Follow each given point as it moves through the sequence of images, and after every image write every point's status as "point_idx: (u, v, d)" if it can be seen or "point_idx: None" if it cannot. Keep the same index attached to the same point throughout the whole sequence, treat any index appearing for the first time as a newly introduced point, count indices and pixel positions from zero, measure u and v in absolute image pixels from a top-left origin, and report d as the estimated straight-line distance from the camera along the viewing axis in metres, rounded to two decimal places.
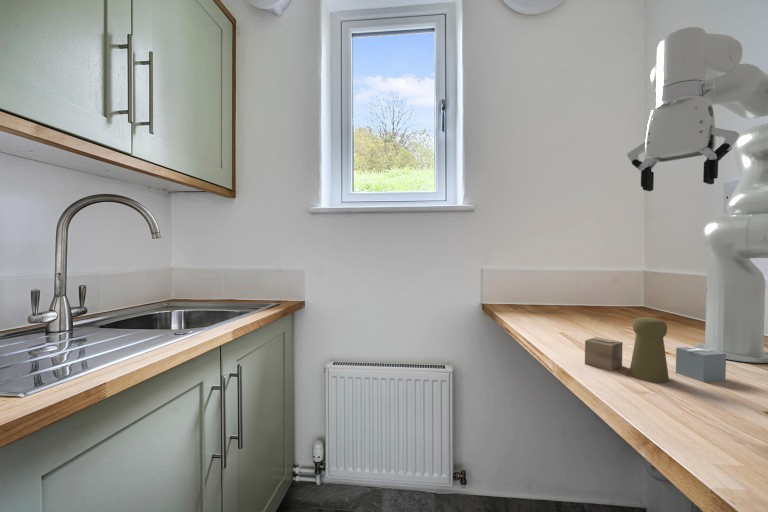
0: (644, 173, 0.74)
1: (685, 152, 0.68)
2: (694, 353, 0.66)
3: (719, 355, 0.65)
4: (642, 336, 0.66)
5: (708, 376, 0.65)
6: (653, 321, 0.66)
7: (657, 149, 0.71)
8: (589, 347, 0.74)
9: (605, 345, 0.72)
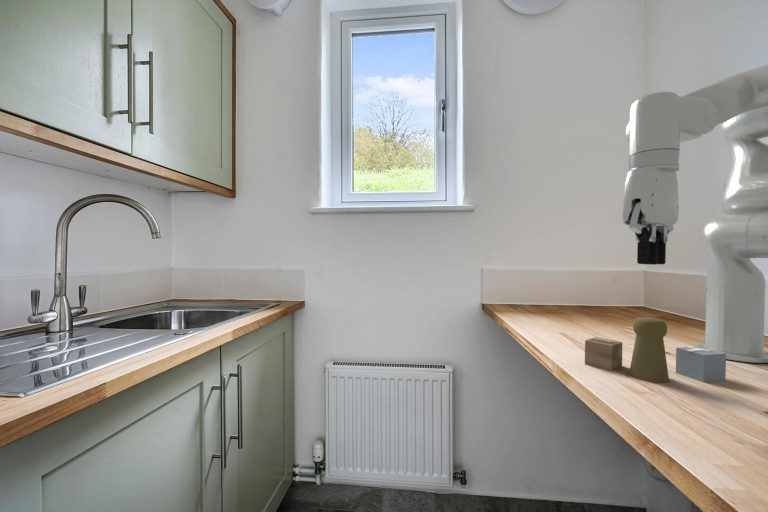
0: (657, 246, 0.65)
1: (668, 224, 0.66)
2: (694, 353, 0.66)
3: (719, 355, 0.65)
4: (642, 336, 0.66)
5: (708, 376, 0.65)
6: (653, 321, 0.66)
7: (657, 214, 0.64)
8: (589, 347, 0.74)
9: (605, 345, 0.72)
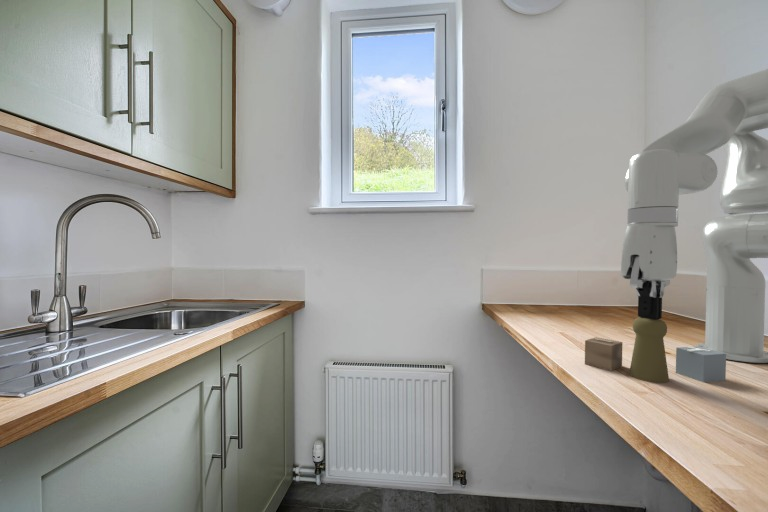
0: (657, 301, 0.65)
1: (666, 279, 0.66)
2: (694, 353, 0.66)
3: (719, 355, 0.65)
4: (642, 336, 0.66)
5: (708, 376, 0.65)
6: (653, 321, 0.66)
7: (655, 271, 0.64)
8: (589, 347, 0.74)
9: (605, 345, 0.72)
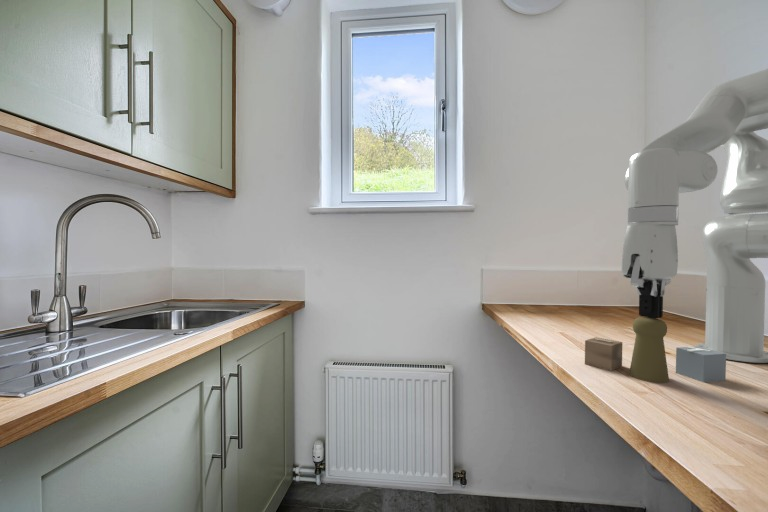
0: (658, 300, 0.66)
1: (667, 278, 0.66)
2: (694, 353, 0.66)
3: (719, 355, 0.65)
4: (642, 336, 0.66)
5: (708, 376, 0.65)
6: (653, 321, 0.66)
7: (656, 270, 0.64)
8: (589, 347, 0.74)
9: (605, 345, 0.72)
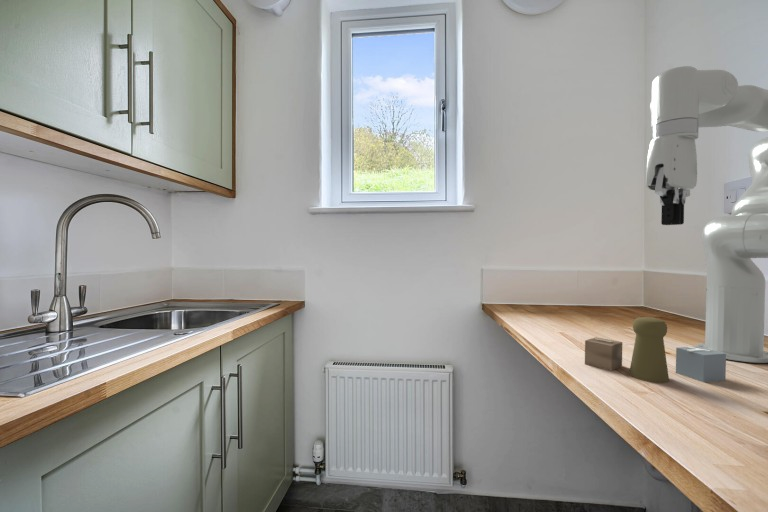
0: (680, 207, 0.72)
1: (687, 188, 0.73)
2: (694, 353, 0.66)
3: (719, 355, 0.65)
4: (642, 336, 0.66)
5: (708, 376, 0.65)
6: (653, 321, 0.66)
7: (678, 178, 0.70)
8: (589, 347, 0.74)
9: (605, 345, 0.72)
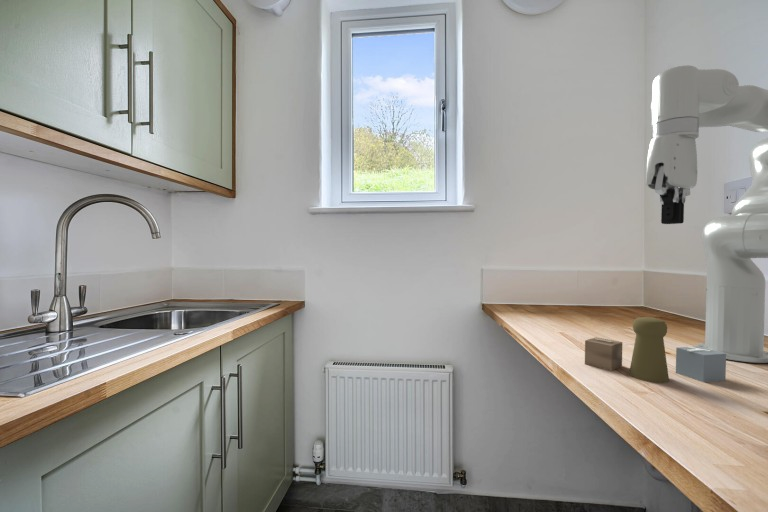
0: (680, 206, 0.72)
1: (687, 187, 0.73)
2: (694, 353, 0.66)
3: (719, 355, 0.65)
4: (642, 336, 0.66)
5: (708, 376, 0.65)
6: (653, 321, 0.66)
7: (678, 177, 0.70)
8: (589, 347, 0.74)
9: (605, 345, 0.72)
